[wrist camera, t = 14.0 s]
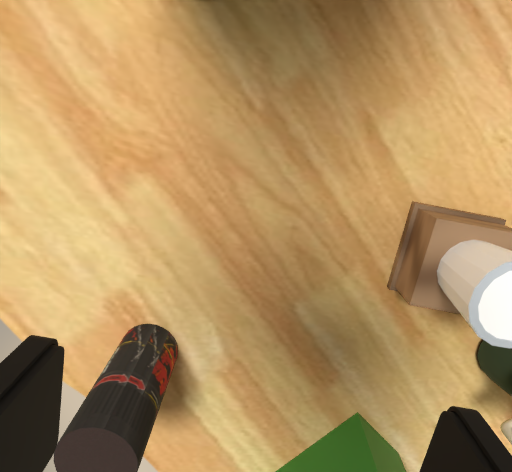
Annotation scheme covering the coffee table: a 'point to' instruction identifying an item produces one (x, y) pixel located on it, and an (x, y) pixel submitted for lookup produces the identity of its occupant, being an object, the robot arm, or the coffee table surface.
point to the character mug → (498, 373)
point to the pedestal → (437, 250)
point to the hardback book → (348, 451)
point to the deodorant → (120, 406)
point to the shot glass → (480, 288)
